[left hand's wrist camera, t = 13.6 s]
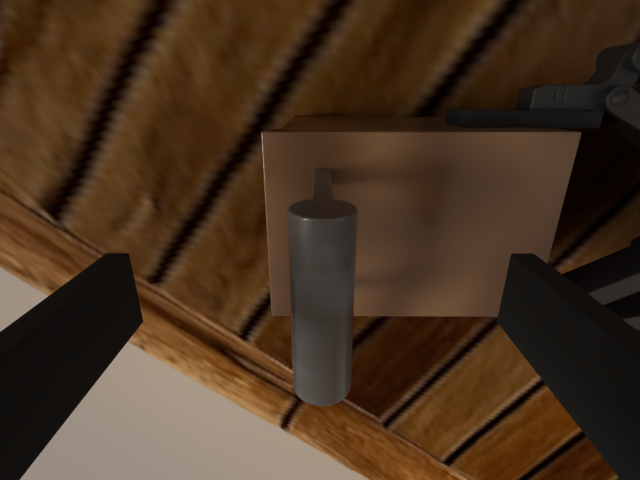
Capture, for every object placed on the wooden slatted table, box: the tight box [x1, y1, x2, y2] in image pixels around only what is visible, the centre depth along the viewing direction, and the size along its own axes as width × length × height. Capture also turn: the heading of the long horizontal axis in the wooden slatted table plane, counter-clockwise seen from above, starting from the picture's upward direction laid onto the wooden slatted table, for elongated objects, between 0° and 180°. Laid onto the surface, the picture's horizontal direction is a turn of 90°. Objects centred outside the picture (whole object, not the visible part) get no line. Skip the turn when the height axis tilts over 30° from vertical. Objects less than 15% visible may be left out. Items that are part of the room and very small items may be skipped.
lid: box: [261, 129, 581, 406], centre depth 14 cm, size 14×9×8 cm
